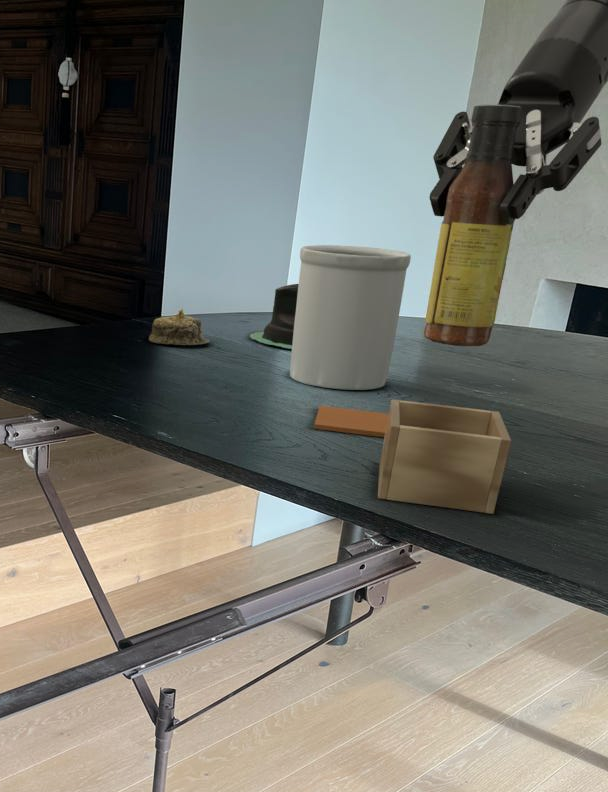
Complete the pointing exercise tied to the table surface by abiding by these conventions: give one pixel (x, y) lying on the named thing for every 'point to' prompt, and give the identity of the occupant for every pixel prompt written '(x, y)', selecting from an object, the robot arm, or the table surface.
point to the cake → (177, 330)
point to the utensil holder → (347, 315)
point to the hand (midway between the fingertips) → (469, 212)
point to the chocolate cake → (281, 319)
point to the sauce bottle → (474, 234)
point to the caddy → (443, 456)
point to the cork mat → (351, 421)
